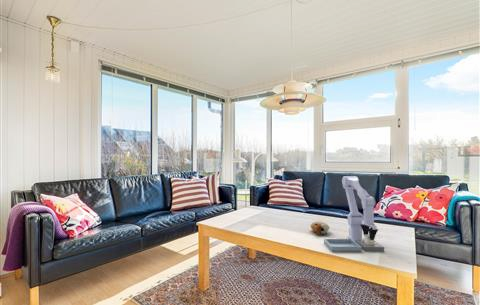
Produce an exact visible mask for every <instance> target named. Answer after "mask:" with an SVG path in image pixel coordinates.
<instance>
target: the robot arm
mask: <svg viewBox="0 0 480 305" xmlns="http://www.w3.org/2000/svg"><path fill="white" fill-rule="evenodd" d="M359 180H360V179H359V178H358V176H353V175H352V176H350V175H349V176H343V177H342V178H341V183H342V189H344V190H345V193H346V198H347V203H348V206H349V207H348V208H349V211H350V212H349V213H348V215H347V223H348V225H349V227H348V235H347V238H348V239H352V240H353V241H355V240H364V238H363V235H364V234H369V236H370V240H374V241H375V239H376V235H377V233H378V232H379V229H378V228H377V227H378V226H376V225H375V215H374V214H375V212H374V208H375V206H376V205H377V204H376V199H375V197H374V196H371V195H370V194H369V193H368V192H367V190H366V189H364V188H362V185H361V184H360V181H359ZM354 190H355V191H356V192H357V193H356V194H357V196H358V197H359V199H360V200H361V201H360V202H361V206H362V209H363V214H362V213H361V212H359V209H358V205H357V201H356V197H355V193H354Z"/></svg>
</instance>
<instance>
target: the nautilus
mask: <svg viewBox="0 0 480 305" xmlns="http://www.w3.org/2000/svg"><path fill="white" fill-rule="evenodd" d="M310 228H311V230H312V231H313V232H314V233H313V234H314V236H317V235H321V234H322V235H324V234H326V233H327V232H328V231H329V230H330V228H331V227H330V225H328V223H326V222H323V221H314V222H312V223H311V224H310Z"/></svg>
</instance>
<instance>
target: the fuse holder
mask: <svg viewBox="0 0 480 305" xmlns="http://www.w3.org/2000/svg"><path fill="white" fill-rule="evenodd" d="M355 242H356V243H357V244H359V245H360V246H361V247H362V251H363V252H385V246H383V245H382V244H380V243H379V242H377V241H375V240H374V245H366V244H365V243H364V240H355Z"/></svg>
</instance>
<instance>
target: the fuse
mask: <svg viewBox="0 0 480 305" xmlns="http://www.w3.org/2000/svg"><path fill="white" fill-rule="evenodd" d="M363 239H364V243H365V244H366V245H374V241H375V239H374V240H370V236H369V233H368V234H364V233H363Z"/></svg>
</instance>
